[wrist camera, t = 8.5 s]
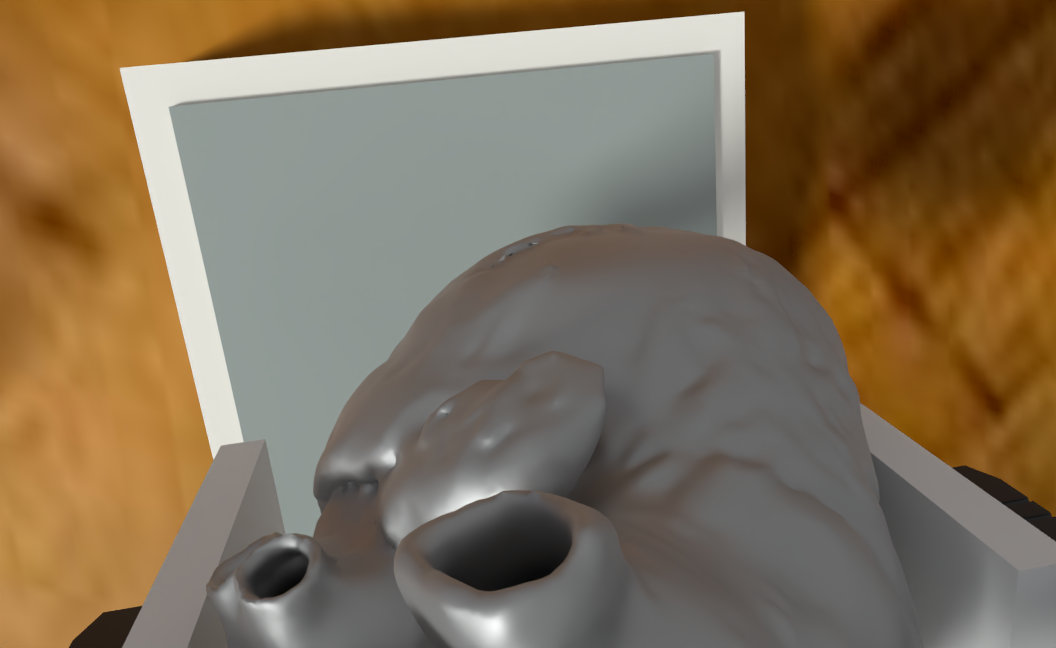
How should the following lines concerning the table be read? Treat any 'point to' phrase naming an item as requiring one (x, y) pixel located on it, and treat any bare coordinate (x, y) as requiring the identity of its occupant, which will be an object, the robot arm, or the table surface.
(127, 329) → the table surface
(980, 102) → the table surface
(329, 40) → the table surface
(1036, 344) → the table surface
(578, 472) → the heart
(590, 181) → the plinth
